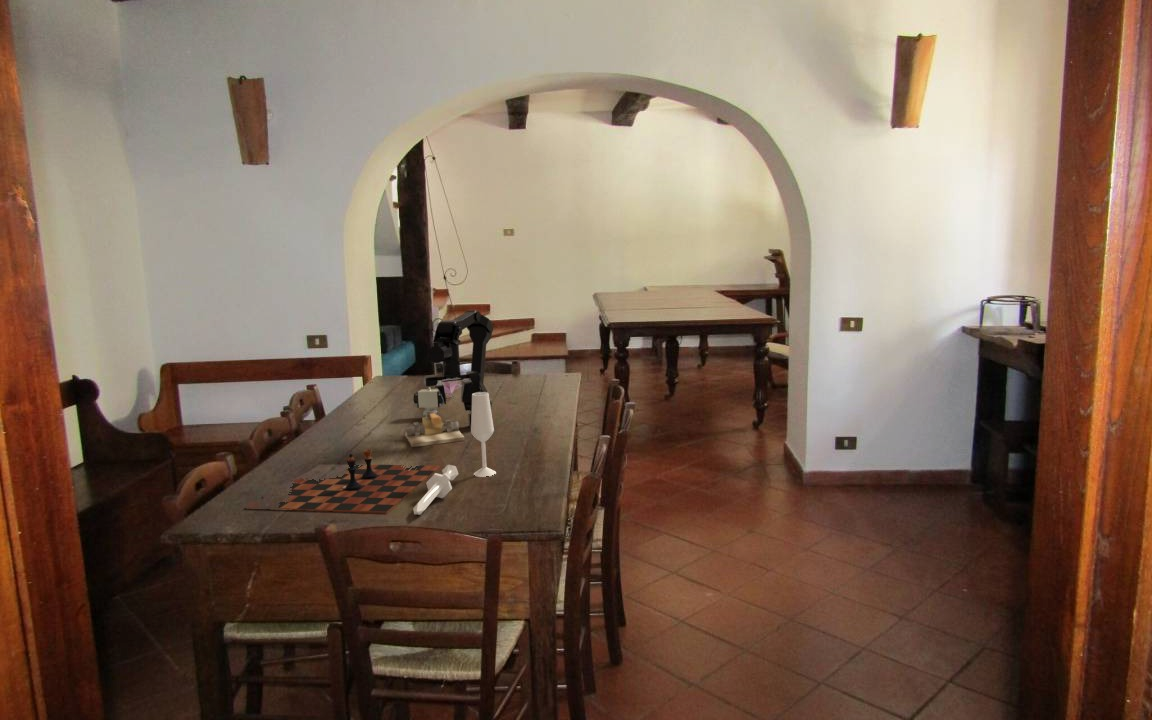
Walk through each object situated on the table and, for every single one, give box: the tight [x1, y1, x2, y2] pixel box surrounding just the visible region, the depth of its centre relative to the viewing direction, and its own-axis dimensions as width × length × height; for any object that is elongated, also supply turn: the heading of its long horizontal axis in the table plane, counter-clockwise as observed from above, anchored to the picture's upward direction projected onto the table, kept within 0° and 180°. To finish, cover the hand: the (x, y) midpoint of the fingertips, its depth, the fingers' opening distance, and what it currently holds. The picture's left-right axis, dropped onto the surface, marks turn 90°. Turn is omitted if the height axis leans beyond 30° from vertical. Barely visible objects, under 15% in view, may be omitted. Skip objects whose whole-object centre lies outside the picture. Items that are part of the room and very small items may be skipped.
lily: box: [442, 380, 462, 401], centre depth 328 cm, size 12×12×10 cm
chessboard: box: [247, 448, 441, 515], centre depth 218 cm, size 40×40×11 cm
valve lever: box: [427, 410, 442, 425], centre depth 263 cm, size 3×14×2 cm, turn 20°
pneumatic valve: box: [412, 387, 447, 418], centre depth 296 cm, size 6×12×12 cm, turn 82°
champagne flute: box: [470, 391, 497, 478], centre depth 223 cm, size 7×7×24 cm
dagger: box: [412, 464, 459, 516], centre depth 203 cm, size 8×6×28 cm
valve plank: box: [404, 415, 466, 448], centre depth 266 cm, size 18×16×7 cm
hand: (453, 403), depth 261 cm, fingers open, 6 cm apart
